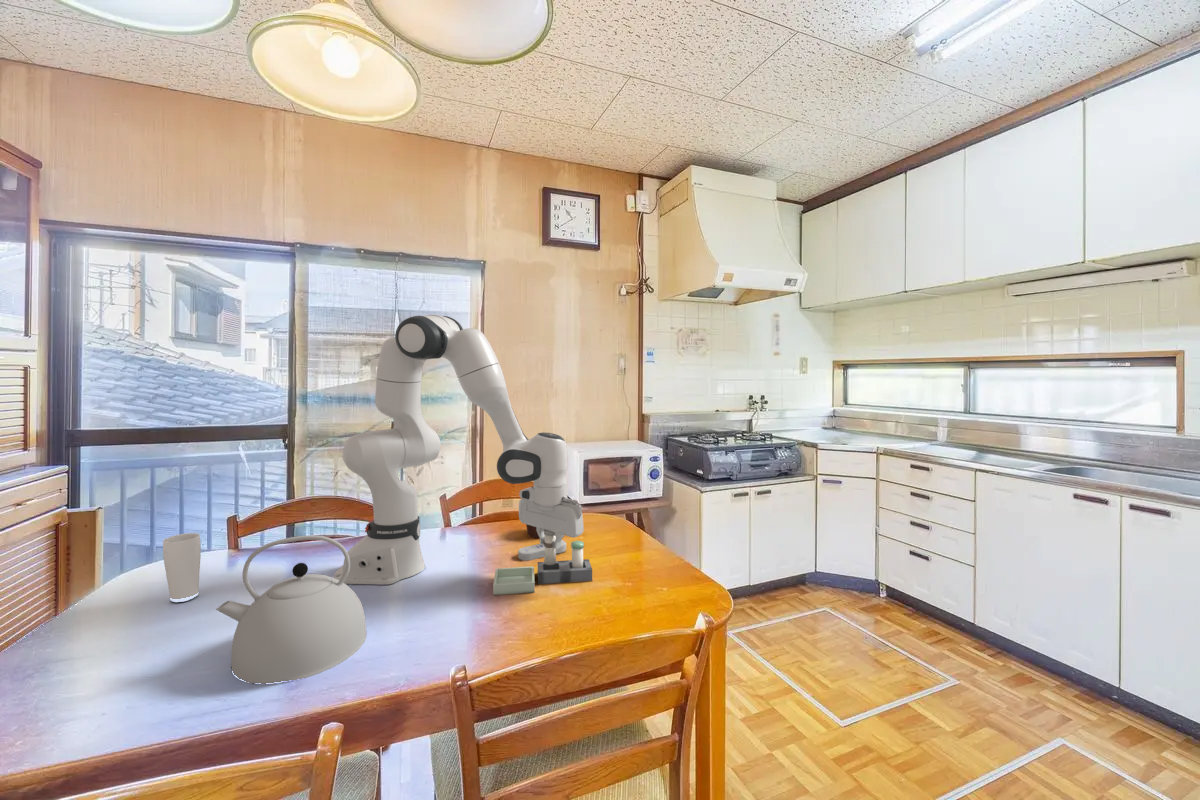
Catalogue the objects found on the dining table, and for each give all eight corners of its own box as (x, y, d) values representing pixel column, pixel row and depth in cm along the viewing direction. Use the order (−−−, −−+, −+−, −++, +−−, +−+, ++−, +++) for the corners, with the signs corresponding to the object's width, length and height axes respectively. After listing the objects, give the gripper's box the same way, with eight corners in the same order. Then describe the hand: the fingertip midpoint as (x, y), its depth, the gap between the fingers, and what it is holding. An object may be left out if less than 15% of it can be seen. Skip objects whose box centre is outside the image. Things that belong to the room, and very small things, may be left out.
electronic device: (514, 525, 142) (560, 516, 150) (515, 557, 143) (561, 546, 151) (521, 530, 138) (568, 520, 145) (522, 563, 139) (569, 552, 146)
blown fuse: (542, 565, 127) (543, 531, 126) (544, 560, 130) (544, 527, 129) (555, 565, 127) (556, 531, 126) (556, 560, 130) (557, 527, 129)
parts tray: (493, 595, 118) (493, 585, 118) (495, 577, 128) (495, 568, 128) (534, 592, 119) (534, 582, 119) (533, 575, 129) (533, 566, 129)
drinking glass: (209, 595, 117) (206, 535, 116) (175, 608, 111) (171, 544, 110) (193, 590, 120) (190, 531, 119) (159, 602, 114) (156, 539, 113)
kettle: (194, 702, 80) (187, 569, 79) (237, 633, 101) (232, 527, 99) (362, 667, 89) (359, 548, 88) (369, 611, 110) (367, 514, 109)
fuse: (571, 579, 127) (571, 545, 127) (570, 573, 130) (570, 541, 130) (584, 578, 128) (584, 544, 127) (583, 572, 131) (583, 540, 130)
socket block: (538, 584, 124) (538, 572, 124) (537, 572, 131) (537, 562, 131) (592, 580, 126) (592, 569, 126) (588, 569, 133) (588, 559, 133)
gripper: (589, 498, 123) (588, 551, 124) (531, 486, 135) (531, 534, 136) (573, 504, 118) (572, 559, 119) (514, 490, 130) (514, 540, 131)
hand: (550, 545), depth 128 cm, fingers closed on blown fuse, 3 cm apart
